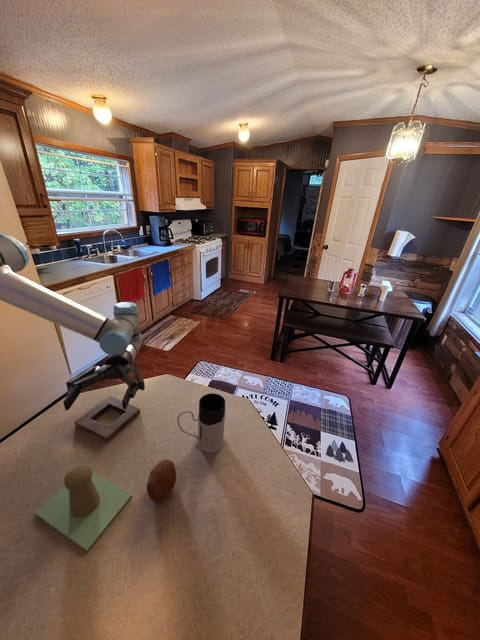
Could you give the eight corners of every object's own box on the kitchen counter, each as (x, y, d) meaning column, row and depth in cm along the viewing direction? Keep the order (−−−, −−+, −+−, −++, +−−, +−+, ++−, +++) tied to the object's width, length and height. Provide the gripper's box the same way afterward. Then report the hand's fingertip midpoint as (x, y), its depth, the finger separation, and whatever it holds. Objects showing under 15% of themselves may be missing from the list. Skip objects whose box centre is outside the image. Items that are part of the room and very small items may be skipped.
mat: (35, 514, 56) (34, 512, 56) (84, 469, 66) (84, 467, 66) (87, 552, 51) (86, 550, 51) (132, 496, 61) (131, 495, 61)
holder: (75, 426, 78) (74, 421, 77) (110, 400, 90) (110, 395, 89) (107, 443, 74) (106, 437, 73) (140, 413, 86) (140, 408, 85)
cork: (73, 493, 60) (65, 462, 56) (102, 487, 62) (95, 456, 58) (66, 521, 55) (55, 488, 51) (97, 513, 57) (90, 481, 52)
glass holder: (228, 448, 76) (231, 409, 70) (180, 461, 71) (180, 421, 65) (219, 426, 83) (222, 389, 77) (175, 437, 78) (174, 398, 72)
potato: (138, 498, 61) (135, 481, 58) (162, 466, 69) (161, 449, 66) (162, 511, 59) (161, 493, 56) (184, 476, 67) (184, 459, 64)
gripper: (161, 369, 86) (148, 415, 67) (81, 368, 82) (43, 418, 63) (160, 350, 83) (146, 393, 64) (78, 348, 79) (37, 394, 60)
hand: (95, 405), depth 63 cm, fingers open, 13 cm apart
